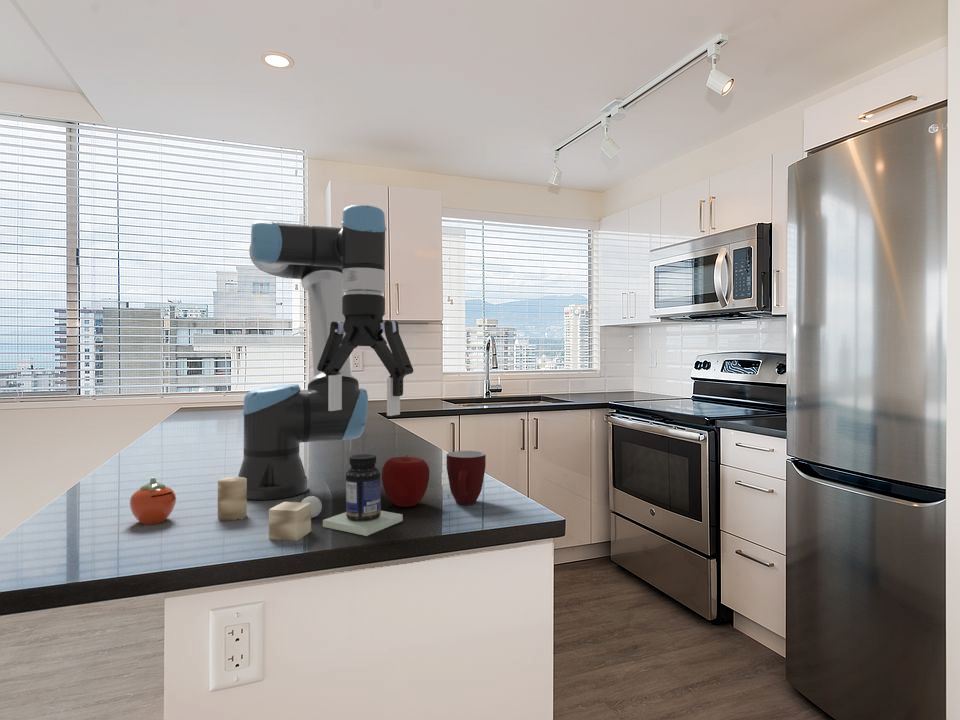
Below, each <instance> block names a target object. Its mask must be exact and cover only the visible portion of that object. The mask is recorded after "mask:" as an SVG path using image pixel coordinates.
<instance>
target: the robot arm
mask: <svg viewBox="0 0 960 720" xmlns="http://www.w3.org/2000/svg"><path fill="white" fill-rule="evenodd" d="M385 217H386V215H385V212H384V211H383V209H381V208H379V207H378V206H373V205H367V204H366V205H365V204H353V205H349V206H346V207H345V208H344V209H343V211H342V219H341V220H342V221H341V226H342V227H333V226H323V225H311V224H310V225H309V224H308V225H307V224H297V223H289V222H288V223H287V222H276V221H275V220H267V221H265V220H263V221H261V220H256V221H253V223H252V224H251V231H250V232H251V233H250V234H251V235H250V245H249V249H248V250H249V257H250V260H251V262H252V263H253V265H254V266H255V267H256V268H257V269H258V270H260V271H262V272H264V273H267V274H269V275H272V276H275V277H277V278H278V277H279V278H283V279H295V280H301V282H300V283H301V286H302V289H304V291H306V292H308V306H309V307H308V308H309V320H310V321H309V323H310V335H311V352H312V370H313V371H312V372H313V378H311V380H310V381H309V382H308V383H307V390H301V387H300V385H299V384H296V383H293V384H283V385H282V384H281V385H273V386H266V387H262V388H257V389H252V390H249V391H248V392H247V393H245V395H244V398H243V411H242V415H243V459H242V462H241V466H240V469H239V471H238V475H237V477H244V478H247V500H252V501H253V500H255V501H258V500H259V501H260V500H261V501H263V500H264V501H266V500H277V499H279V500H280V499H286V498H290V497H295V496H298V495H302V494H304V493H306V492H307V491H309V490H308V487H309V481H308V477H307V475H306V471H305V468H304V465H303V461H302V458H301V455H300V454H301V453H300V452H301V451H300V448H301V447H300V445H301V444H300V443H315V442H331V441H332V442H333V441H336V442H337V441H340V442H343V441H345V440H346V441H347V440H348V441H349V440H355V439H358V438H360V437H361V436H362V435H363V433H364V431H365V427H366V424H367V418H368V412H369V411H368V410H369V409H368V408H369V396H368V391H367V389H365V388H360V385H359V380H358V379H357V378H356V377H354V376H353V375H352V369H351V359H350V356H351V354H352V352H354V350H355V349H356V348H358V347H370V348H371V349H372V350H373V351H374V352H375V354H376V355H377V357H378V358H379V359H380V361H381V363H382V364H383V366H384V367H385V369H386V370H387V372H388V373H389V376H388V377H387V378H386V416H387V417H392V416H399V415H401V397H402V396H403V395H404V378H405V377H406V376H407V375H410V374H413V373H414V367H413V365H412V363H411V360H410V357H409V355H408V353H407V350H406V348H405V346H404V342H403V340H402V338H401V335H400V327H399V322H398V320H385V321H384V320H383V317H384V316H385V315H386V298H385V297H384V295H382V294H384V293H386V271H385V270H386V231H387V227H386V219H385ZM383 333H384V334H385V338H384V336H383ZM387 344H388V345H387Z"/></svg>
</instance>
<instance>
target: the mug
mask: <svg viewBox="0 0 960 720" xmlns="http://www.w3.org/2000/svg"><path fill="white" fill-rule="evenodd" d="M486 460H487V459H486V453H484V452H483V451H477V450H475V451H474V450H457V451H456V450H455V451H451V452H447V453H446V473H447V478H448V484H449V490H450V492H451V494H452V497H453V499H454V501H455V502H456V503H457V504H458V505H462V506H464V505H466V506H468V505H474V504H475V503H476V502H477V500H478V498H479V496H480V495H481V492H482V489H483V484H484V479H485V473H486V464H487V463H486Z"/></svg>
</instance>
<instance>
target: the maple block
mask: <svg viewBox="0 0 960 720" xmlns="http://www.w3.org/2000/svg"><path fill="white" fill-rule="evenodd" d="M311 532H312V518H311V503H301V502H298V501H297V502H296V501H283V502H281V503H279V504H276V505H275V506H272V507H271V508H268V539H269V540H277V541H294V542H295V541H296V542H298V541H299V540H300V539H302V538H303V537H305V536H306V535H308V534H310V533H311Z"/></svg>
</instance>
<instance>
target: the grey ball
mask: <svg viewBox="0 0 960 720" xmlns="http://www.w3.org/2000/svg"><path fill="white" fill-rule="evenodd" d="M300 503H311V519H313V518H315V517H316V518H317V516H319V514H320V513H321V512H322V507H323V506H322V505H323V504H322V501H321V500H320V498H318V497H317V496H313V495H308V496H306V497H305V498H303V499H302V500H301V502H300Z"/></svg>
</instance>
